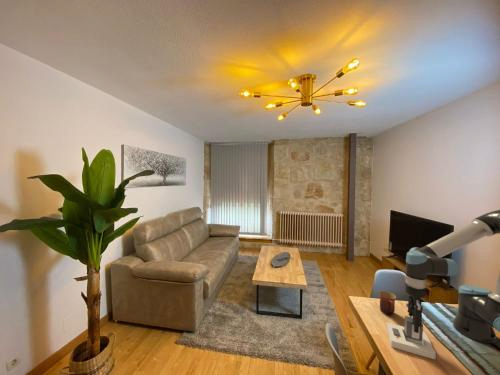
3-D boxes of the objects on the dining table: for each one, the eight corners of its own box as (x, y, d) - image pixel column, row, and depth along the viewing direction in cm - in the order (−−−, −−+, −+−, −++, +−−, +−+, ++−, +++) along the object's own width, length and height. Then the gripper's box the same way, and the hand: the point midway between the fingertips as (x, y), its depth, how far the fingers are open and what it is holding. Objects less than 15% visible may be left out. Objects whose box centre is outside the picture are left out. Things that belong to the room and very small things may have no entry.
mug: (375, 306, 129) (376, 290, 129) (391, 308, 127) (392, 291, 127) (384, 319, 117) (384, 301, 117) (401, 321, 115) (402, 302, 115)
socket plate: (424, 337, 103) (424, 330, 103) (435, 359, 90) (435, 351, 90) (386, 328, 110) (386, 321, 110) (391, 346, 97) (391, 339, 97)
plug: (419, 333, 100) (420, 316, 100) (422, 340, 96) (423, 321, 96) (404, 329, 102) (405, 312, 102) (406, 335, 99) (407, 317, 98)
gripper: (401, 276, 108) (400, 321, 109) (410, 292, 92) (408, 344, 93) (419, 279, 105) (418, 325, 105) (432, 296, 89) (430, 350, 90)
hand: (413, 334), depth 99 cm, fingers closed on plug, 4 cm apart
